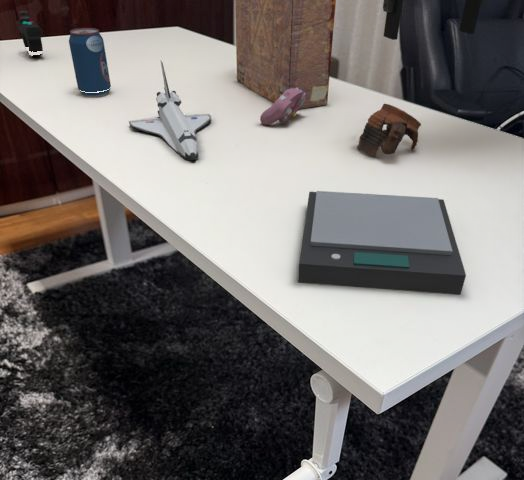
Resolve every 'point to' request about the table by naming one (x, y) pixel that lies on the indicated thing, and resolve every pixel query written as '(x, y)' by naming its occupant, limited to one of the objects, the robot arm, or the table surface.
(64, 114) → the table surface
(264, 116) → the video game controller
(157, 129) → the space shuttle model
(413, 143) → the brown hollow arched part
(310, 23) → the book
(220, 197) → the table surface
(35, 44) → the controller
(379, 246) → the scale
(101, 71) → the soda can
